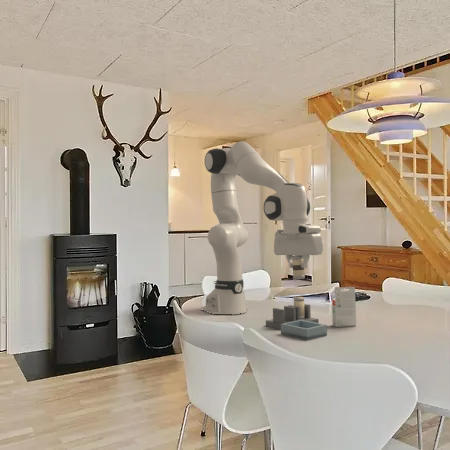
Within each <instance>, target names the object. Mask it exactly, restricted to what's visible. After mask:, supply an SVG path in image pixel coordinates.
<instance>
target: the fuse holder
mask: <svg viewBox="0 0 450 450" xmlns="http://www.w3.org/2000/svg"><path fill="white" fill-rule="evenodd" d="M304 310H305V319H300V307H298V306H294V305H289V304H288V305H284V306H283V308H278V307H273V308H272V319H266V320H265V327H269V328H273V329H277V330H281V324H283V323H288V322H292V321H297V320H304V321H310V322H315V323H319V318H315V317H311V304H306V303H304Z"/></svg>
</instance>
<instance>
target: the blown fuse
mask: <svg viewBox="0 0 450 450" xmlns="http://www.w3.org/2000/svg"><path fill="white" fill-rule="evenodd" d="M303 260H304V258H302V255H293V256H292V268H291V269H292V278H293V280H303V279H305V278H306V276H305V275H306V274H305V268H301V263H303Z"/></svg>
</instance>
